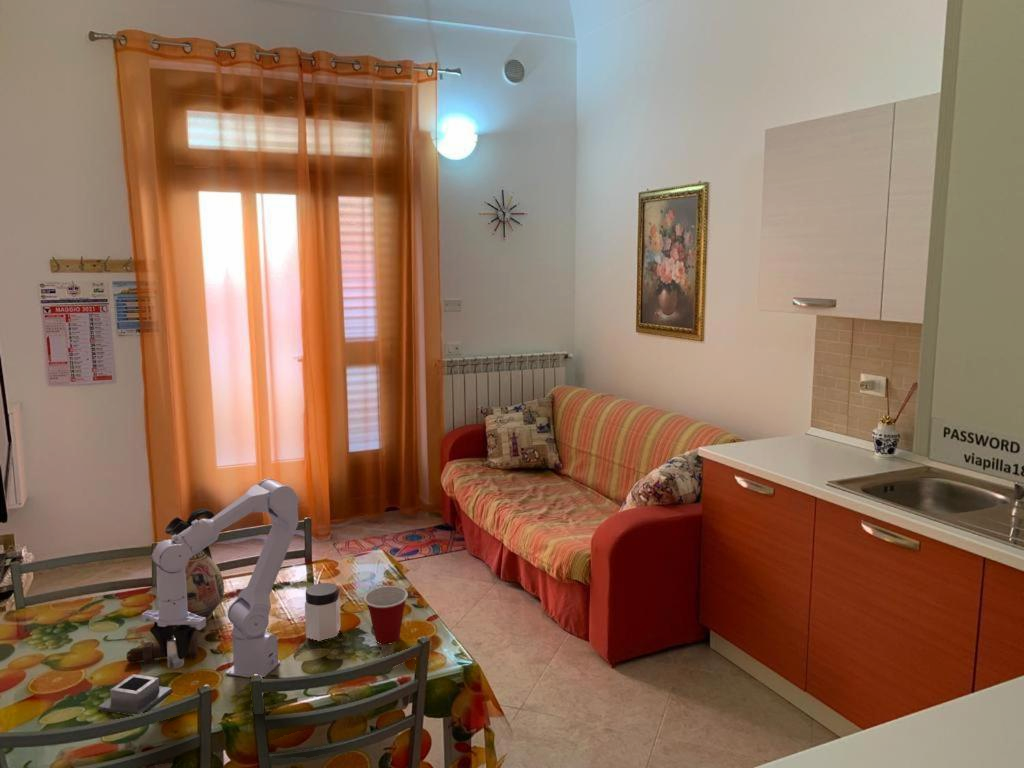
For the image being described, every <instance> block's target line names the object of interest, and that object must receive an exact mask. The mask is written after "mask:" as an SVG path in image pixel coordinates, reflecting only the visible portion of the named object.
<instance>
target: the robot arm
mask: <svg viewBox="0 0 1024 768" xmlns="http://www.w3.org/2000/svg"><path fill="white" fill-rule="evenodd" d="M299 503H300V498H299V497H298V495H297V493H296V492H295V490H294V488H292V487H290V486H288V485H285V484H283V483H281V482H279V480H278V481H277V480H276V479H274V478H265V479H263V480H260V481H259V482H258V483H257V484H255V485H252V486H251V487H250V488H249V489H248V490H247V491H246V492H245V493H244V494H243V495H241V496H239V498H237V499H236V500H235V501H233V502H232V503H230V504H229V505H228V506H226V507H225V508H224V509H223V510H221V511H219V512H218V513H217V514H215V515H214V517H213V518H212V519H208V518H200V519H199V520H198V519H195V520H194V521H193V522H191V524H192V525H191V526H190V527H188V528H187V529H185V530H184V531H182V532H181V533H179V534H178V535H176V534H175V535H172V536H171V539H170V538H169V539H164V540H161V541H160V542H159V543H157V544H156V546H155V548H154V549H153V551H152V554H151V555H150V556H151V559H152V561H153V562H154V563H155V564H156V591H157V593H156V594H157V606H158V609H157V610H149V609H147V610H146V611H144V612H143V613H141V623H148V622H149V623H154V624H153V625H152V626H151V627H150V629H149V631H150V632H149V633H151V634H152V635H153V636H154V638H155V640H156V642H157V643H158V644H159V645H160V648H161V650H162V653H163V656H164V657H163V658H167V643H166V639H167V638H169V637H171V636H174V637H175V640H176V644H177V653H178V658H179V659H183V658H184V659H185V657H187V656H188V655H189V654H188V649H189V645H190V641H191V638H192V636H193V634H194V633H196V632H195V631H196V630H198V631H200V630H202V629H204V628H205V627H206V626H207V621H206V618H205V617H200V616H198V615H195V614H193V613H190V612H188V607H187V588H186V573H185V567H186V565H187V564H188V562H189V559H190V558H191V557H192V556H193V555H195V554H197V553H198V552H200V551H201V550H203V549H204V548H206V547H207V546H209V547H210V545H212V544H213V543H214V542H216V541H217V540H218V538H219V536H220V532H221V531H224V529H227V528H228V527H229V526H231V525H233V524H234V523H236V522H238V521H240V520H241V519H243V518H244V517H246V516H248V515H249V514H251V513H265V514H268V516H269V517H270V520H271V521H272V526H271V528H270V530H269V533H268V535H267V537H266V540H265V542H264V545H263V547H262V550H261V552H260V555H259V557H258V559H257V562H256V564H255V566H254V569H253V572H252V573H251V577H250V578H249V582H248V584H247V586H246V587H245V588H244V589H242V590H241V591H239V593H238V596H237V597H236V599H235V600H234V601H233V602H232V603H231V604H230V605H229V608H228V609H227V619H228V620H229V622H230V623H231V624H233V627H232V631H231V635H232V637H231V638H232V639H231V640H232V657H233V665H232V666H231V667H230V668H229V669H228V670H226V671H225V674H226V675H230V676H238V677H244V678H250V676H252V675H254V674H258V675H261V676H262V677H264V678H265V677H266V676H267V675H268V674H269V673H271V672H272V671H273V670H274V669H275V668H276V667H278V665H280V664H281V660H279V651H278V650H279V646H278V638H277V636H276V635H275V634H274V633H271V632H269V631H267V629H268V626H269V623H270V622H269V621H270V620H269V618H270V612H271V608H272V604H271V598H270V594H271V592H272V590H273V587H274V585H275V583H276V582H275V581H276V580H277V578H278V575H279V572H280V569H281V568H282V565H283V562H284V560H285V558H286V555H287V552H288V549H289V547H290V544H291V543H292V540H293V538H294V535H295V533H296V530H297V527H298V526H299V522H300V521H299V510H298V506H299ZM175 626H178V627H177V628H176V629H175ZM250 679H251V678H250Z"/></svg>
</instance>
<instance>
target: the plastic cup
mask: <svg viewBox="0 0 1024 768" xmlns="http://www.w3.org/2000/svg"><path fill="white" fill-rule="evenodd" d="M408 597H409V594H408V590H406V589H405V588H404V587H400V586H397V585H385V586H379V587H376V588H373V589H371V590H369V591H368V592H366V594H365V595H364V597H363V599H364V603H365V604H366V605H367V608H368V611H369V615H370V619H371V624H372V630H373V633H374V638H375V641H377V643H378V642H379V643H381V644H380V645H384V644H388V645H390V644H389V643H393V642H395V641H397V640H398V639H399V640H400V636H401V635H400V634H401V629H402V625H403V618H404V611H405V607H406V602H407V598H408ZM399 640H398V641H399ZM398 641H397V642H398ZM379 643H378V644H379ZM395 643H396V642H395ZM393 644H394V643H393Z"/></svg>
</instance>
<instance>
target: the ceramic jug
mask: <svg viewBox="0 0 1024 768" xmlns="http://www.w3.org/2000/svg"><path fill="white" fill-rule="evenodd" d="M214 516H215V514H214V513H213V511H212V510H210V509H208V508H204V507H203V508H198V509H195V510H194V511H192V512H191V513H190V514H189V516H188V518H187V520H186V521H184V520H182V519H181V518H180V517H178V516H177V517H174V518H173V519H172V520H171V521H170V522H169V524H167V526H166V528H165V531H164V532H165V534H166V535H170V536H171V535H172V536H173V535H175V534H176V535H178V534H179V533H181V532H182V531H184V530H185V529H187V528H188V527H190V526H191V525H192V524H191V522H193V521H194V520H198V518H202V517H205V518H206V519H212V518H213V517H214ZM211 553H212V552H211V549H210V545H209V546H207V547H206V548H204V549H203V550H201V551H200V552H198V553H197V554H195V555H193V556H192V557H191V558H190V559H189V562H188V564H187V565H186V567H185V573H186V588H187V607H188V612H190V613H193V614H195V615H198V616H200V617H205V618H206V622H207V621H208V620H210V619H211V618H212V616H213V615H214V611H215V610H216V608H217V607H219V604H221V602H222V600H223V597H224V593H225V586H224V585H225V583H224V579H223V578H224V577H223V575H222V572H221V571H220V568H219V567H218V565H217V563H216V562H215V560H214V559H213V557H212V554H211ZM226 607H227V606H226Z"/></svg>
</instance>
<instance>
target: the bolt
mask: <svg viewBox="0 0 1024 768" xmlns="http://www.w3.org/2000/svg"><path fill="white" fill-rule="evenodd" d="M198 642H199V641H198V635H197V634H196V632H194V634H193V636H192V638H191V641H190V645H189V649H188V655H189V659H194V658H195V659H196V658H197V657H198V653H199V643H198ZM126 655H128V656H127V657H126V661H128V662H129V663H132V664H133V663H138V662H143V663H144V664H145V665H146V664H147V665H148V664H153V663H154V662H155V659H162V658H165V657H164V656H163V653H162V650H161V648H160V645H159V643H158V644H155V643H154V642H153V641H147V642H145V643H144V644H143V646H142V647H141V646H140V647H134V648H131V649H130V650H129V651H127V652H126Z"/></svg>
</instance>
